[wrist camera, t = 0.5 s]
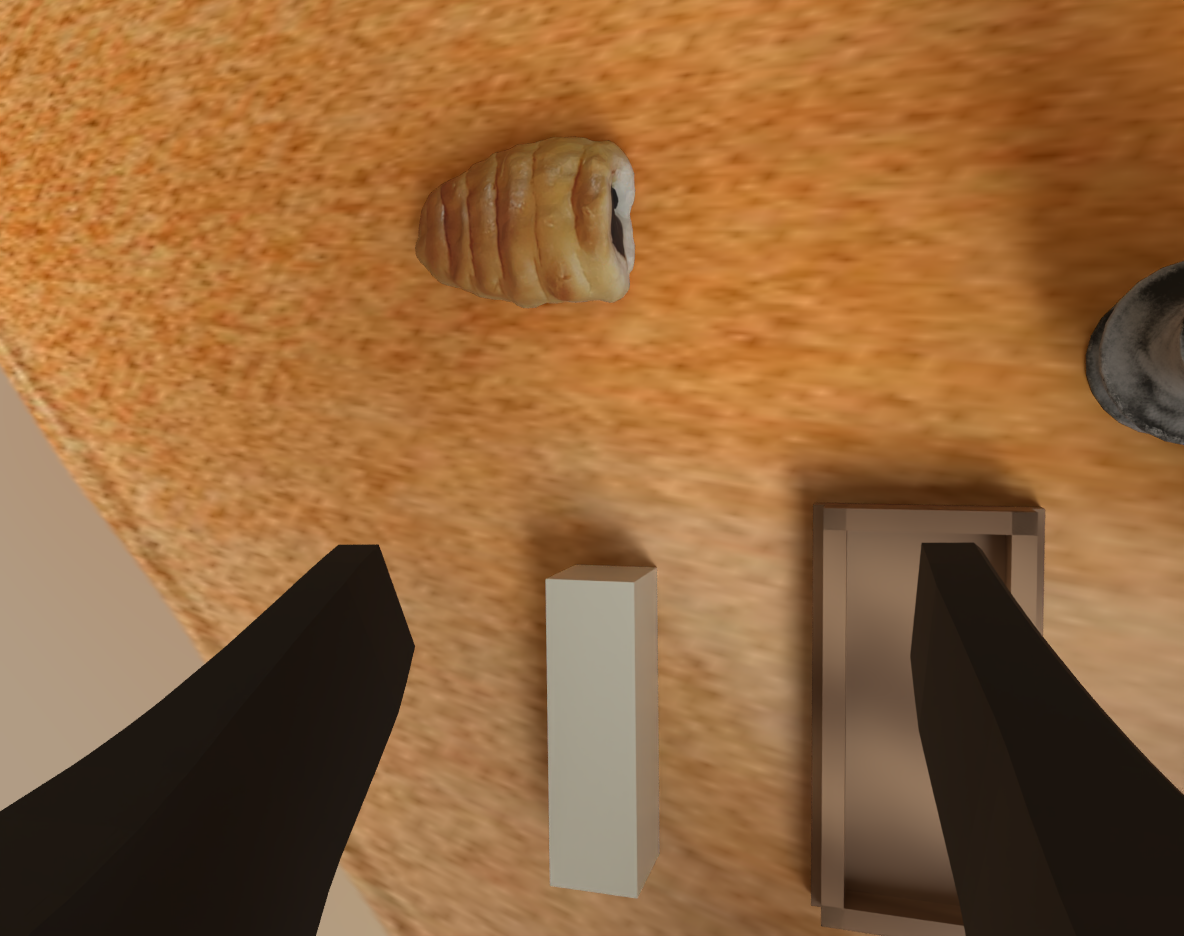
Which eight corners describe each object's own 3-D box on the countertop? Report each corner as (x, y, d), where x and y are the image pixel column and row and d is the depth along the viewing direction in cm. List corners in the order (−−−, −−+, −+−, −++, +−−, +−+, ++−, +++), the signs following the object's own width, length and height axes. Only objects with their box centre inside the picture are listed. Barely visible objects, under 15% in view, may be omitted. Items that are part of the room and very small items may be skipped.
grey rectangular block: (660, 851, 38) (637, 898, 34) (581, 841, 39) (550, 885, 35) (658, 566, 38) (634, 582, 34) (577, 563, 39) (545, 579, 35)
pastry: (436, 321, 40) (392, 309, 36) (430, 167, 40) (386, 140, 36) (643, 304, 37) (619, 289, 34) (638, 138, 37) (612, 105, 34)
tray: (1034, 926, 34) (1045, 960, 32) (812, 895, 36) (809, 924, 34) (1041, 507, 33) (1052, 512, 31) (814, 502, 35) (810, 507, 33)
